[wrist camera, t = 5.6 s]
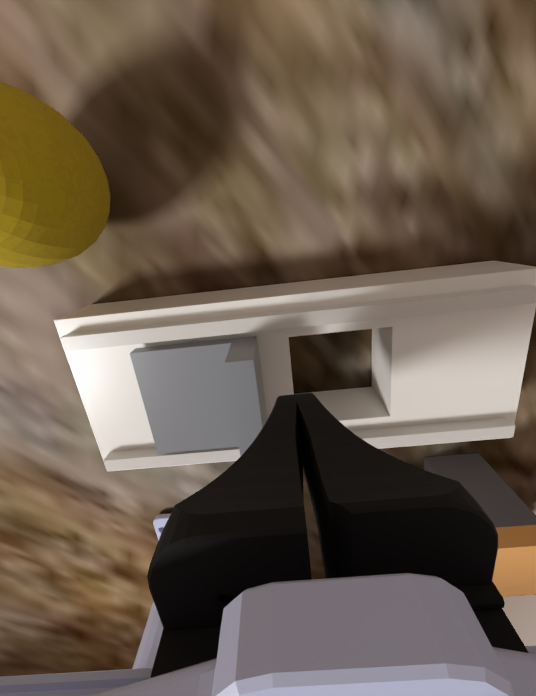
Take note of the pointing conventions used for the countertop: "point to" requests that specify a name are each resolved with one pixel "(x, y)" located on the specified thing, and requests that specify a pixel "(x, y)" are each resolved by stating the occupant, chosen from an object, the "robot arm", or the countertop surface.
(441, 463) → the orange and grey block
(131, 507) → the countertop surface
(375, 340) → the socket board
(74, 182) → the lemon
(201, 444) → the shutter
